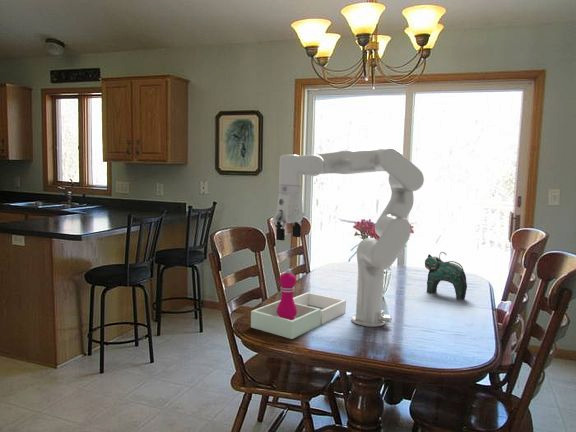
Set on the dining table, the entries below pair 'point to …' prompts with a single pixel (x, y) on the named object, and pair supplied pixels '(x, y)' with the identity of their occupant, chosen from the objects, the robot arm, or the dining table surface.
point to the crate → (323, 305)
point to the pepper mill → (287, 296)
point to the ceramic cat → (445, 275)
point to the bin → (285, 320)
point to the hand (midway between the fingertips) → (288, 238)
